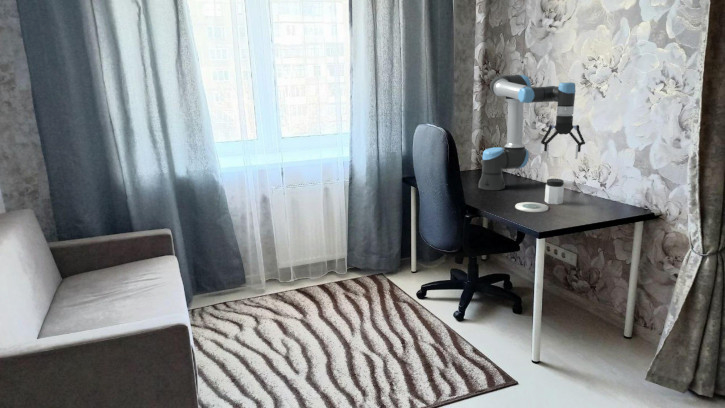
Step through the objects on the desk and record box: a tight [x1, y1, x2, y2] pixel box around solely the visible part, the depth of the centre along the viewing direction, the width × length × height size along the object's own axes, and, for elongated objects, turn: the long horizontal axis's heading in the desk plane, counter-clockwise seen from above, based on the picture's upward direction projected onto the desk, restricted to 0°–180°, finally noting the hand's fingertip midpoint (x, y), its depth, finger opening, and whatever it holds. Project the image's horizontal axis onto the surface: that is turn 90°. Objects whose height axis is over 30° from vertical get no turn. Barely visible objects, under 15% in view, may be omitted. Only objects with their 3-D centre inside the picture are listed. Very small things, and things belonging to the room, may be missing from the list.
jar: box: [544, 178, 565, 206], centre depth 257 cm, size 9×8×12 cm
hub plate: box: [514, 201, 549, 213], centre depth 250 cm, size 16×16×1 cm
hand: (561, 158), depth 245 cm, fingers open, 13 cm apart
